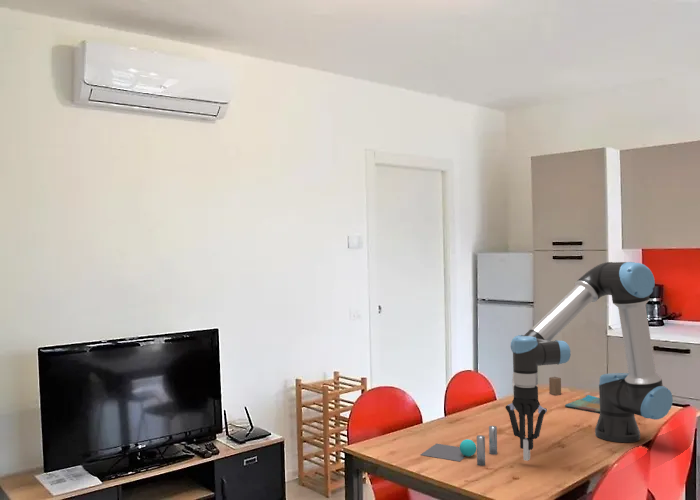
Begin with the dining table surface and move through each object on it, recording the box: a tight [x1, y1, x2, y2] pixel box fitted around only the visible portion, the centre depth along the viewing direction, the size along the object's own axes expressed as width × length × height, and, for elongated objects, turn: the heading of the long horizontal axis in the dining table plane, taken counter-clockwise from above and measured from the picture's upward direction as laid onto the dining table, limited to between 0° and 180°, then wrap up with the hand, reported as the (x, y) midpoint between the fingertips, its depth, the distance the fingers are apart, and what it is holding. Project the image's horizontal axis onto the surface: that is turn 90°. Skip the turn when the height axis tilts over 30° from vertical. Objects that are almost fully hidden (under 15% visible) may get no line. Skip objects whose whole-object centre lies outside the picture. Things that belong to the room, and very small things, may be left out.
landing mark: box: [419, 443, 467, 463], centre depth 210 cm, size 14×14×1 cm
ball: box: [459, 438, 477, 457], centre depth 206 cm, size 6×6×6 cm
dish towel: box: [564, 394, 600, 415], centre depth 271 cm, size 17×23×2 cm
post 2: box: [488, 425, 498, 456], centre depth 208 cm, size 3×3×9 cm
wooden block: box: [548, 376, 562, 396], centre depth 294 cm, size 4×4×8 cm
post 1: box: [476, 434, 486, 467], centre depth 197 cm, size 3×3×9 cm
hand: (526, 459), depth 196 cm, fingers closed
